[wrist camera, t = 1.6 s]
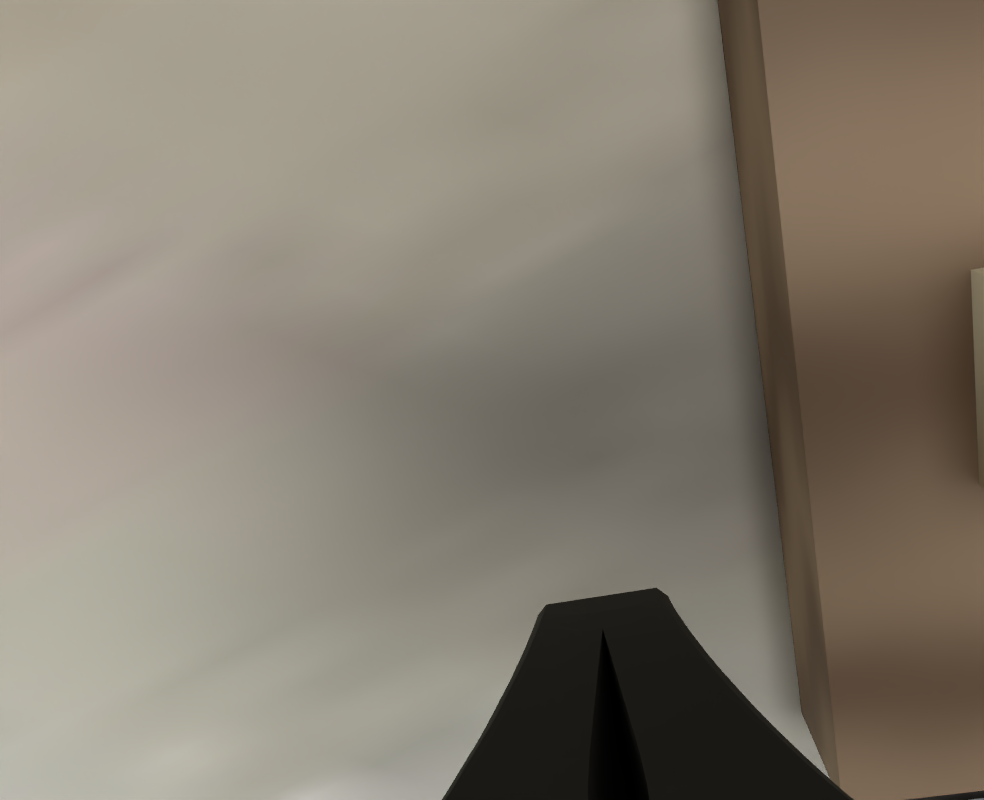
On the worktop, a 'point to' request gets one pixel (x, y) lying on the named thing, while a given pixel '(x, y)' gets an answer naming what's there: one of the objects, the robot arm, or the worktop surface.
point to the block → (979, 360)
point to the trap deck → (871, 367)
